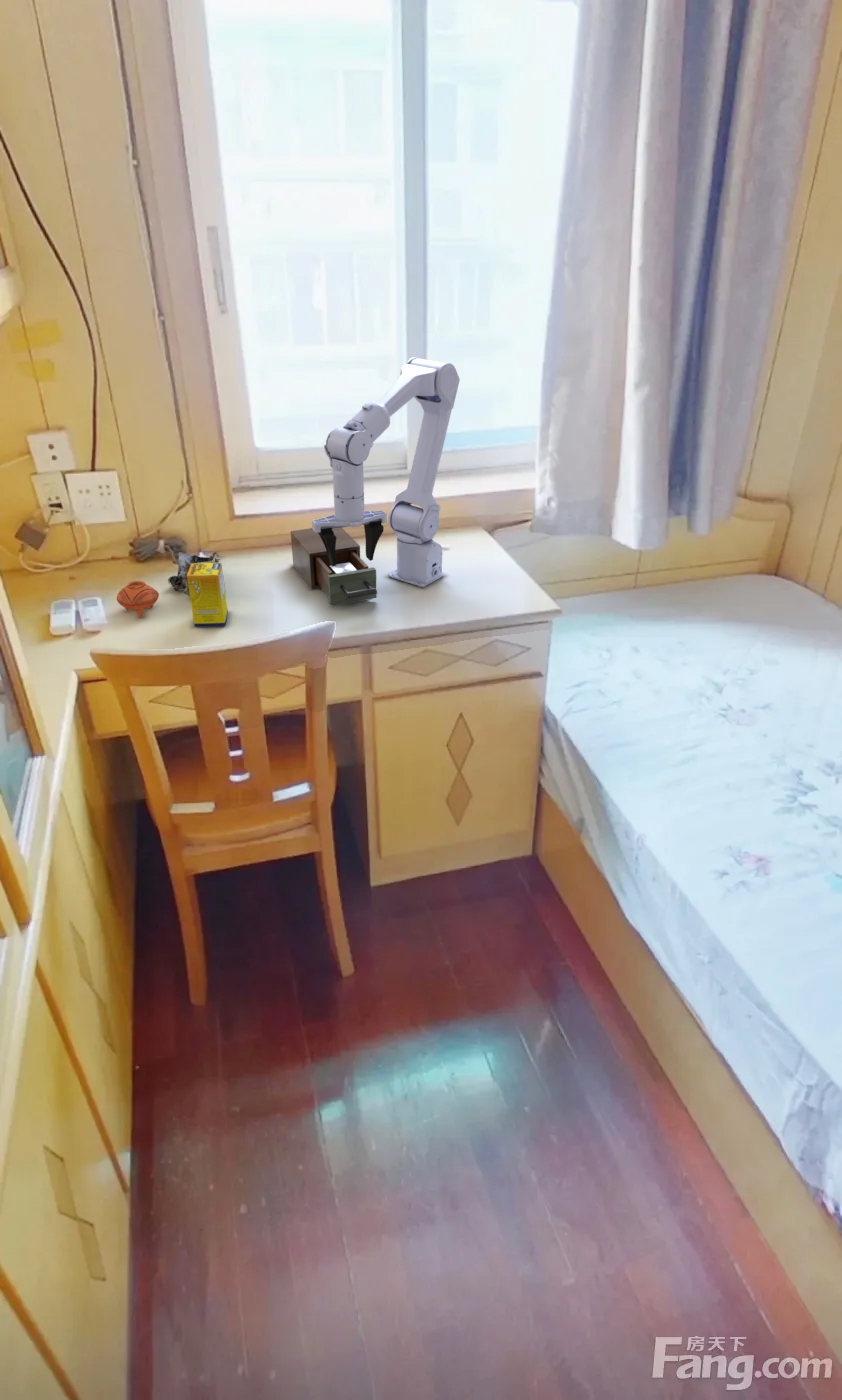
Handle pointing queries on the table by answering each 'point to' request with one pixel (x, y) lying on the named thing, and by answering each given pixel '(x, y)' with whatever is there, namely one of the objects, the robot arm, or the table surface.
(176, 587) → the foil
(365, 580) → the drawer
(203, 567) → the supplement box
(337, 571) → the shiny metal block
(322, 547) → the cabinet
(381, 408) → the robot arm
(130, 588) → the pot
